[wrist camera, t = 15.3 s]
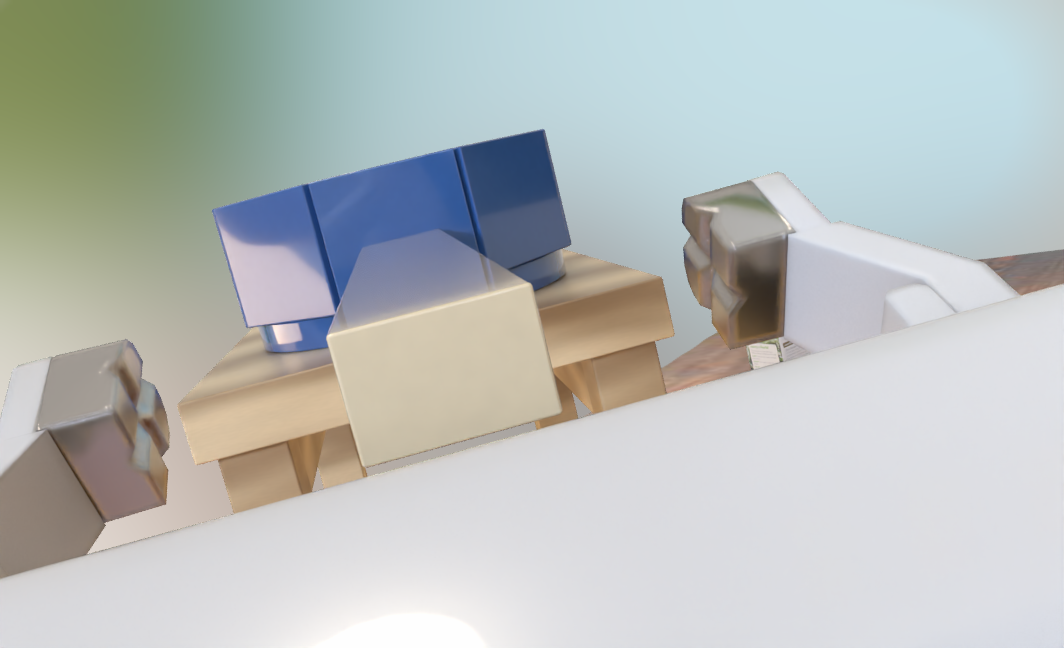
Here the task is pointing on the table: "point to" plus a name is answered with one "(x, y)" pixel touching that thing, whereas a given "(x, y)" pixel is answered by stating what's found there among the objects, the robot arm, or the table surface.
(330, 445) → the stand
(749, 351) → the syrup box
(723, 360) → the table surface
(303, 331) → the blue saucepan
